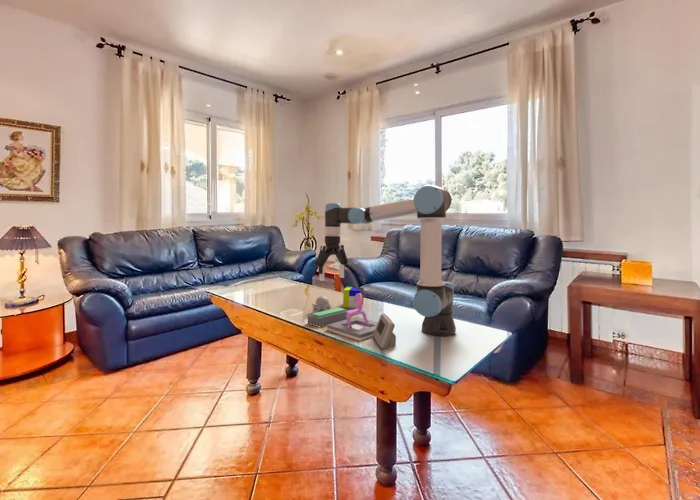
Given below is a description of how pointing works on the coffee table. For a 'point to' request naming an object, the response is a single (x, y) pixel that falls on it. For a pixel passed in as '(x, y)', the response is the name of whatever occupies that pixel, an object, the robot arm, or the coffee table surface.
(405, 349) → the coffee table surface
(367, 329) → the grey flat square frame
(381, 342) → the digital clock
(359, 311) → the toy chair
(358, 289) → the puzzle toy
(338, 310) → the bar
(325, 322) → the button housing
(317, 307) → the chubby cartoon animal
